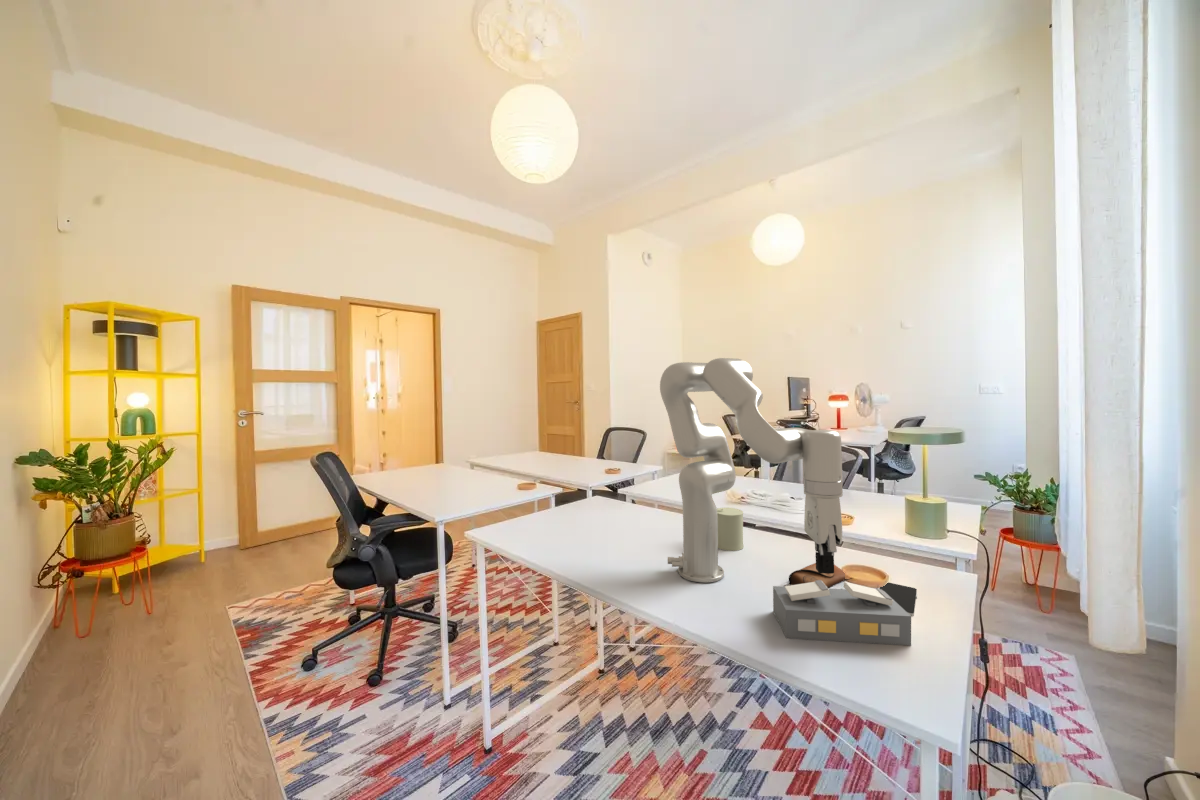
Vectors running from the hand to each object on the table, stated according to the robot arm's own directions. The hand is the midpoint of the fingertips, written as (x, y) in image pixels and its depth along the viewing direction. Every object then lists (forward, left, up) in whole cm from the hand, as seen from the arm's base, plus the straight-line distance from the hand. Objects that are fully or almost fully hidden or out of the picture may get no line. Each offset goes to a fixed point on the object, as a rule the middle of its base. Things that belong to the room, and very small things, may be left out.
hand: (825, 571), depth 96 cm
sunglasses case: (+7, +24, -13) cm, 29 cm away
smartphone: (+22, +15, -13) cm, 30 cm away
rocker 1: (-3, 0, -5) cm, 6 cm away
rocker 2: (+9, 0, -5) cm, 10 cm away
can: (-13, +48, -13) cm, 52 cm away
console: (+3, 0, -12) cm, 13 cm away
